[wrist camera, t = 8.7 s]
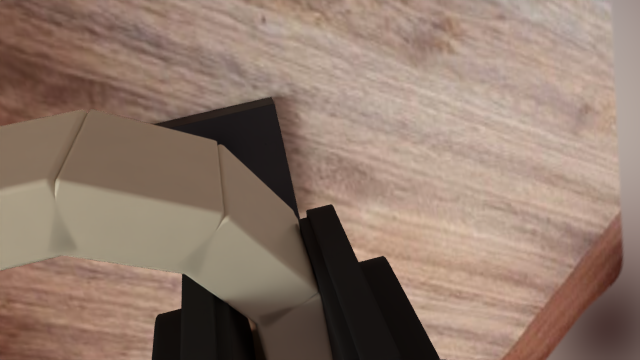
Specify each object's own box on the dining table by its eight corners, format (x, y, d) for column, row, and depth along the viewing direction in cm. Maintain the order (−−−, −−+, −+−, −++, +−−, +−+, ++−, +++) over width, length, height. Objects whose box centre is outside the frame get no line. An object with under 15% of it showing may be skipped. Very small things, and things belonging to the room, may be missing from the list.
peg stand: (271, 96, 31) (289, 142, 25) (297, 212, 35) (317, 273, 30) (126, 130, 30) (110, 185, 24) (172, 245, 34) (168, 314, 29)
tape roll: (267, 69, 9) (292, 125, 7) (328, 374, 13) (354, 467, 11) (-263, 178, 8) (-436, 286, 6) (-4, 468, 12) (-46, 591, 10)
